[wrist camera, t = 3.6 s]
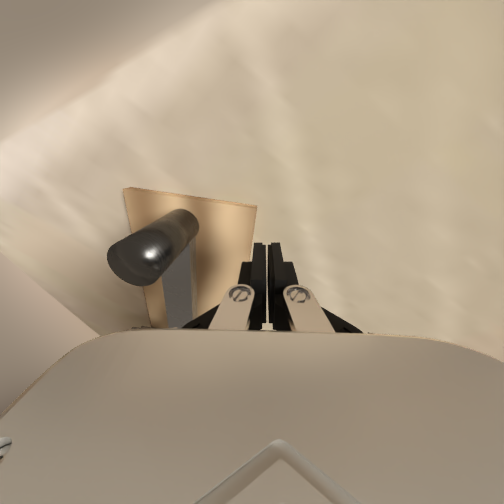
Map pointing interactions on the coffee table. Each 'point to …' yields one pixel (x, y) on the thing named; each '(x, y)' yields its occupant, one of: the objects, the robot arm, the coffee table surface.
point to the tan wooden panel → (198, 243)
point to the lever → (163, 262)
